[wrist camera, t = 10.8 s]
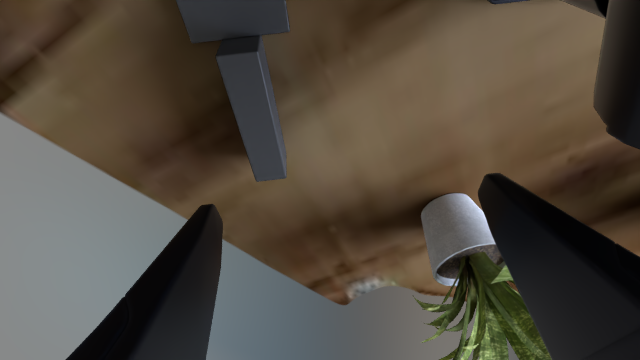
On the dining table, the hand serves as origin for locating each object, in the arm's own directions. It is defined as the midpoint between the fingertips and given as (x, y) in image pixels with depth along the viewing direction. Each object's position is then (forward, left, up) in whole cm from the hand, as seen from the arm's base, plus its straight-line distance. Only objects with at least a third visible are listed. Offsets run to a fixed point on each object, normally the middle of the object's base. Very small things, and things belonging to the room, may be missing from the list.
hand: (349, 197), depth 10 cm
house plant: (-11, +16, -12) cm, 22 cm away
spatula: (+4, 0, -12) cm, 12 cm away
